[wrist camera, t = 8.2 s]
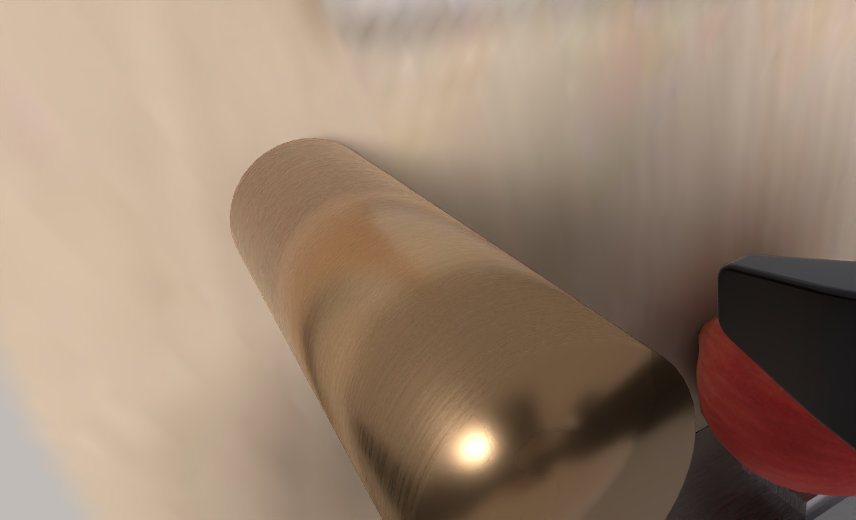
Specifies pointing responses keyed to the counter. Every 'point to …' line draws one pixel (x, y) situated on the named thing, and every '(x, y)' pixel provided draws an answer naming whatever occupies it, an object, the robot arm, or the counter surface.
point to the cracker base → (745, 492)
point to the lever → (454, 354)
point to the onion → (767, 422)
